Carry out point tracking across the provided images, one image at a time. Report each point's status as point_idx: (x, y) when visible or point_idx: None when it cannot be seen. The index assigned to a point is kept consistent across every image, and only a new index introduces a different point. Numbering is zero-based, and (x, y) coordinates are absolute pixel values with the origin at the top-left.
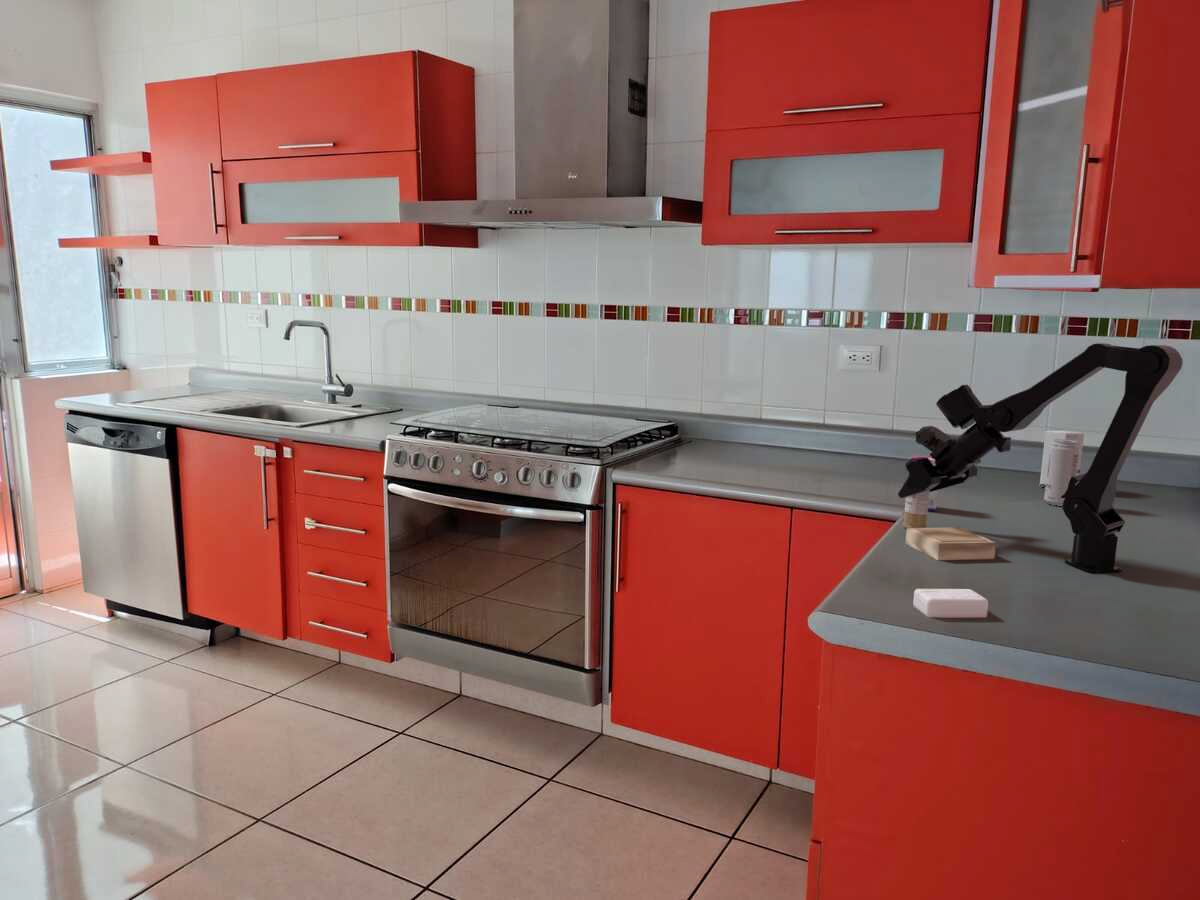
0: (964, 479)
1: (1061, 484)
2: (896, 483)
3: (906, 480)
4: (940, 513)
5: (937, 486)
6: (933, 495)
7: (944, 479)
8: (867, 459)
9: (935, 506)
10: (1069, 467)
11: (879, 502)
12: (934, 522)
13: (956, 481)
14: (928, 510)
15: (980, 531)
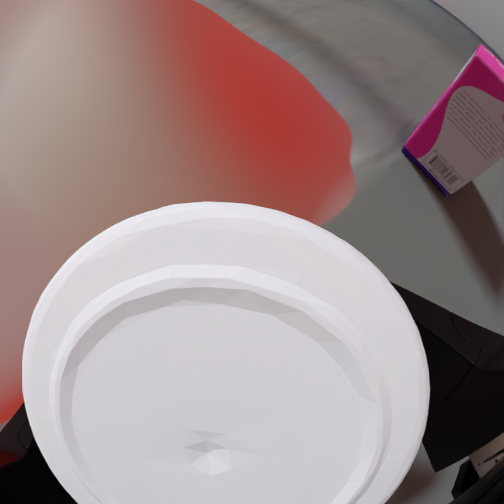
0: (453, 493)
1: None
2: (455, 59)
3: (17, 412)
4: (447, 215)
5: None
6: (466, 171)
7: (439, 405)
8: (454, 20)
9: (453, 190)
10: None
11: (368, 83)
12: None
13: (440, 464)
14: (435, 183)
15: None
